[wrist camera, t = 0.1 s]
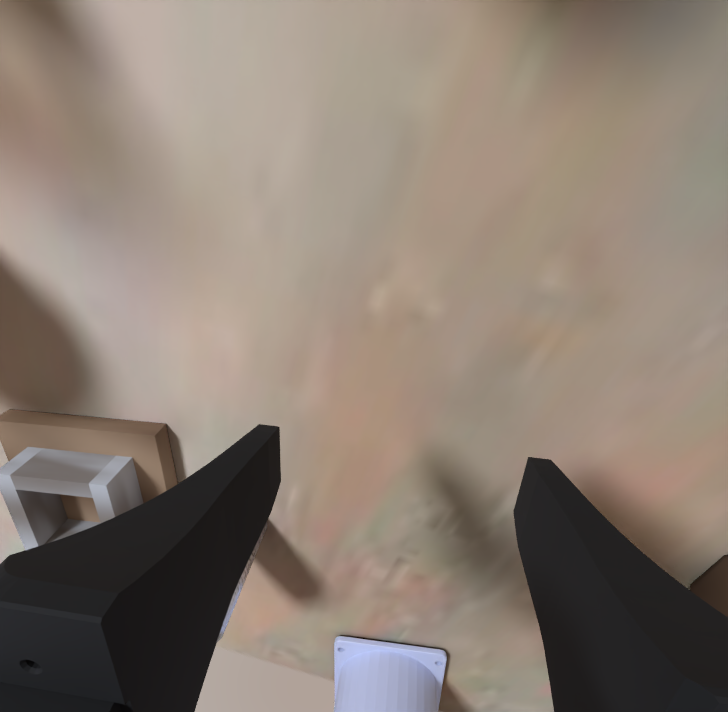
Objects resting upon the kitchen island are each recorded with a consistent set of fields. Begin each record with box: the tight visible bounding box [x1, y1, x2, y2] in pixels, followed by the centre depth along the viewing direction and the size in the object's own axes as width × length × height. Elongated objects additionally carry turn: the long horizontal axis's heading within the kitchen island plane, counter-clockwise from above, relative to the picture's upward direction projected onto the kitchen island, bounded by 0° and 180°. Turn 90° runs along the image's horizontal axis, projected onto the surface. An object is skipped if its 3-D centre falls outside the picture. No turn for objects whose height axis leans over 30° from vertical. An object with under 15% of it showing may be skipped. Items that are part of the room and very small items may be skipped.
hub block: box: [0, 409, 178, 550], centre depth 27 cm, size 10×10×4 cm
